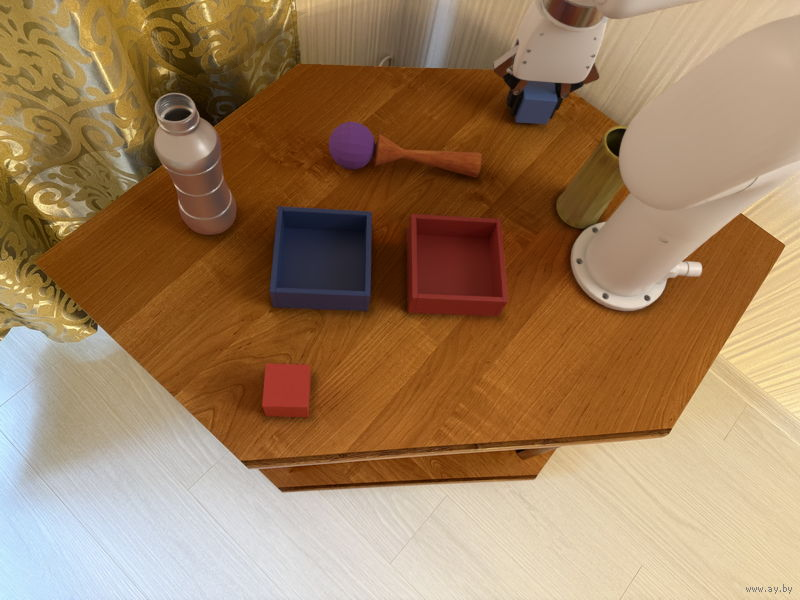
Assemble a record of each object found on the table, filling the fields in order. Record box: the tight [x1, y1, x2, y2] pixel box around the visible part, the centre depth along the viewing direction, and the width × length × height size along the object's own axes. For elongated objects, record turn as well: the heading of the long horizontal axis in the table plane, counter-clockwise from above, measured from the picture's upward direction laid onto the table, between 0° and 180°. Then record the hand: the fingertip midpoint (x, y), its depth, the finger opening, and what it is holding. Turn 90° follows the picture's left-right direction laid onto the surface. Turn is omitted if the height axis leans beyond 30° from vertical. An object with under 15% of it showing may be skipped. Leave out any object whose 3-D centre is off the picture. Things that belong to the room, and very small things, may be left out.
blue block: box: [514, 81, 557, 125], centre depth 84 cm, size 5×5×5 cm
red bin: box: [406, 213, 509, 317], centre depth 73 cm, size 11×11×4 cm
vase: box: [555, 125, 628, 230], centre depth 74 cm, size 6×6×14 cm
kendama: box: [328, 121, 483, 179], centre depth 78 cm, size 6×6×20 cm
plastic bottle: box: [153, 92, 238, 236], centre depth 65 cm, size 6×7×20 cm
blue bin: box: [269, 205, 373, 312], centre depth 71 cm, size 11×11×4 cm
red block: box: [261, 362, 312, 418], centre depth 64 cm, size 5×5×5 cm
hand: (530, 109), depth 85 cm, fingers closed on blue block, 4 cm apart
